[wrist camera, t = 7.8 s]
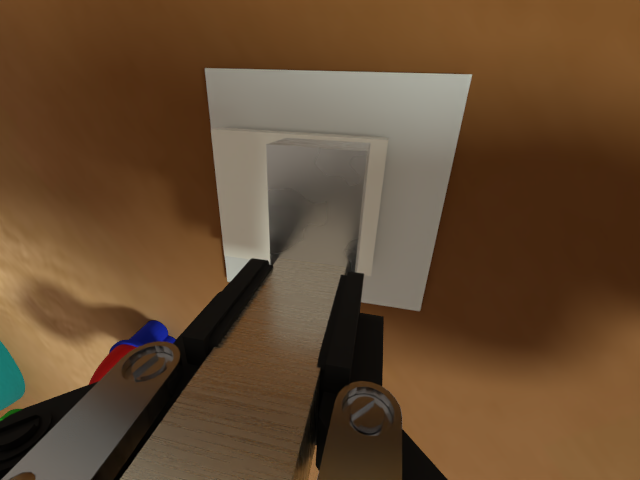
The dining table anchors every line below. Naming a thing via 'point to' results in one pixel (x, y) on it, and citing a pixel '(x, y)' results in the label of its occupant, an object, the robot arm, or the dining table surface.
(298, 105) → the mat
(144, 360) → the robot arm
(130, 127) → the dining table surface
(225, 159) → the tile
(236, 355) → the white inverted t block
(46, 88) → the dining table surface
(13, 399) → the whale figurine
